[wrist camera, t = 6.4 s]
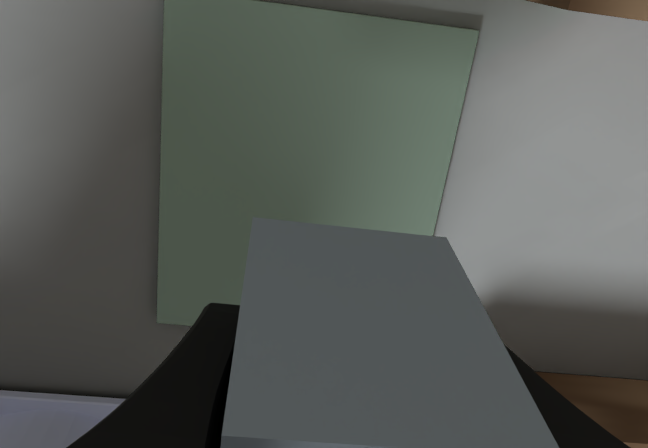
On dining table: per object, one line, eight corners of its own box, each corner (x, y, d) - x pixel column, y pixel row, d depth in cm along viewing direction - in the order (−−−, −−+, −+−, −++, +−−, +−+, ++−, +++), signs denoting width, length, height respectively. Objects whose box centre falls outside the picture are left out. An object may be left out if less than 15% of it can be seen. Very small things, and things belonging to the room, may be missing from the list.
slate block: (236, 377, 14) (201, 659, 8) (253, 217, 12) (221, 435, 7) (409, 391, 14) (482, 667, 9) (446, 237, 13) (564, 458, 7)
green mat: (158, 318, 21) (156, 323, 21) (166, -13, 17) (163, -12, 17) (406, 338, 22) (408, 343, 22) (476, 29, 18) (479, 30, 18)
